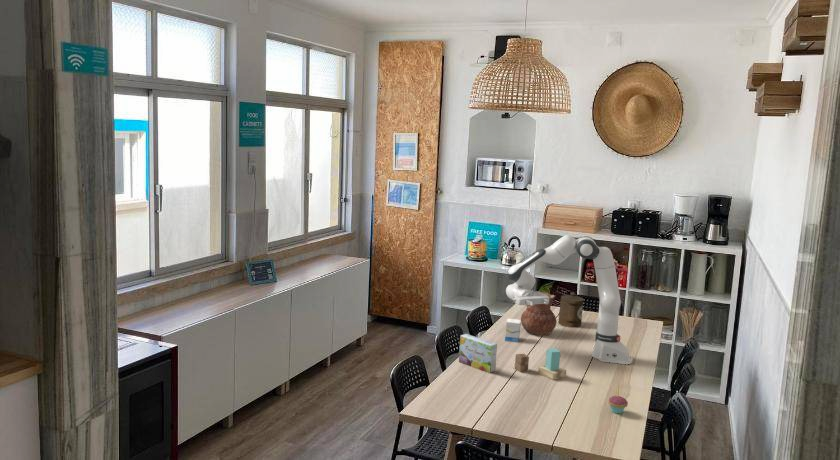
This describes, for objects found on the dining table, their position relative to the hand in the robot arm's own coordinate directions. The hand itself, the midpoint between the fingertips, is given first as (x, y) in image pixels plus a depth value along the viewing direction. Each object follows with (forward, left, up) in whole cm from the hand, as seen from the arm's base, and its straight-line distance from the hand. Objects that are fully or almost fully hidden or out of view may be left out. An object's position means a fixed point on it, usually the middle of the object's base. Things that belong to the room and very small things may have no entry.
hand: (540, 303), depth 364 cm
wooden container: (-2, -83, -32) cm, 89 cm away
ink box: (+22, -29, -32) cm, 48 cm away
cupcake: (-50, +49, -32) cm, 78 cm away
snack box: (+25, +28, -32) cm, 50 cm away
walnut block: (+3, +20, -32) cm, 38 cm away
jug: (+12, -52, -32) cm, 62 cm away
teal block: (-13, +20, -28) cm, 37 cm away
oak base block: (-14, +19, -32) cm, 40 cm away
